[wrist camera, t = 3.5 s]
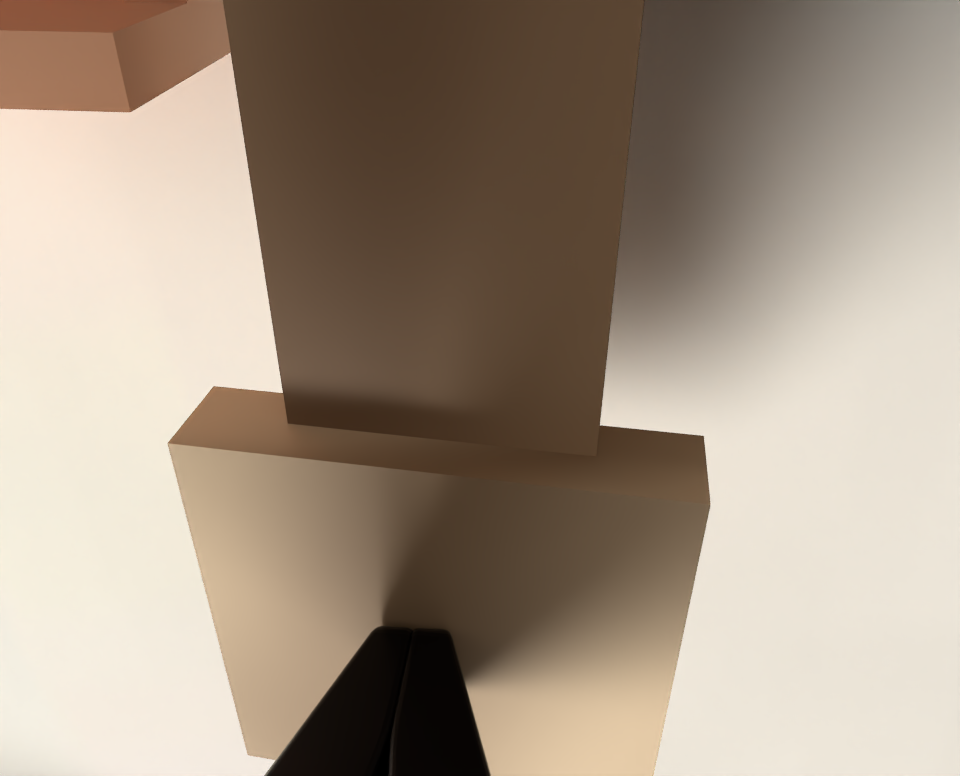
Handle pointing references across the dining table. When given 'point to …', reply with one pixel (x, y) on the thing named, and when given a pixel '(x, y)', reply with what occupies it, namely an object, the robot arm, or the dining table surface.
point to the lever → (444, 380)
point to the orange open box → (104, 51)
